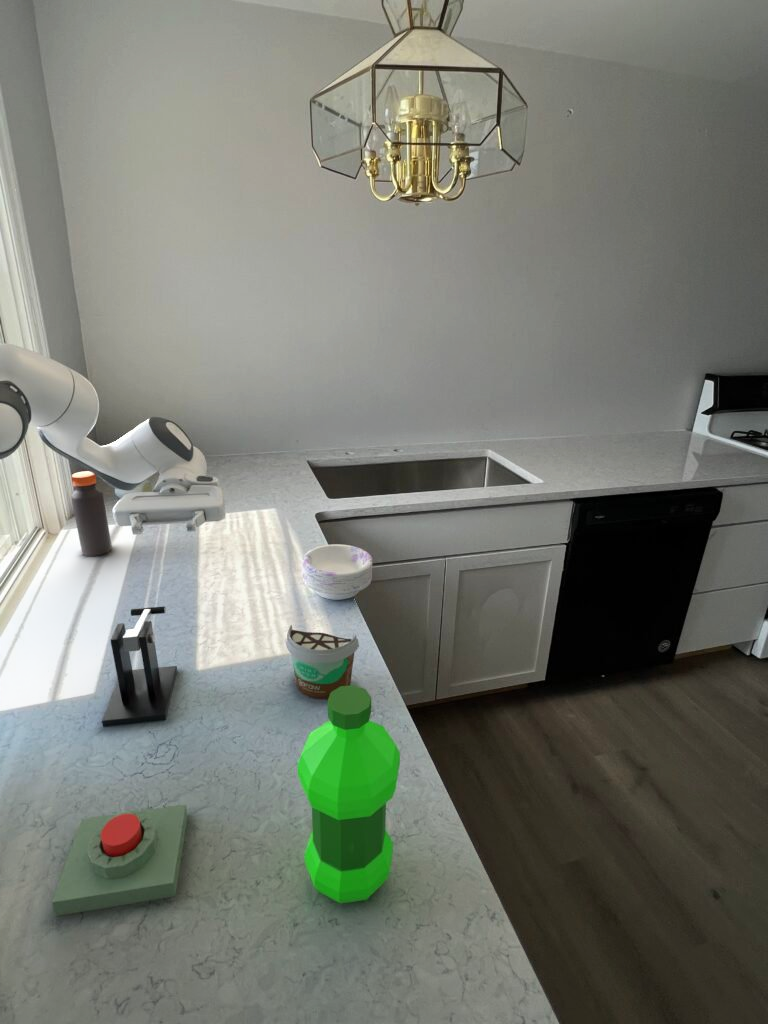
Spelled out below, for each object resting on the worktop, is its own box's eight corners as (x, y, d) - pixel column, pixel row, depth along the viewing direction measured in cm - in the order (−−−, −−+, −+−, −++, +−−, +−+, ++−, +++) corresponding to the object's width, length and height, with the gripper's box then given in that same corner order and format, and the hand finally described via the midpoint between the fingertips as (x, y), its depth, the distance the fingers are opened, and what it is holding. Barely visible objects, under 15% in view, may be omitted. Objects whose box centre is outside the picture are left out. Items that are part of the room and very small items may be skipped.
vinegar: (75, 554, 136) (60, 476, 129) (96, 543, 142) (82, 468, 135) (98, 558, 135) (83, 480, 127) (118, 547, 141) (105, 471, 133)
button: (98, 859, 61) (96, 848, 60) (108, 827, 64) (106, 816, 64) (137, 853, 61) (135, 842, 61) (145, 822, 65) (143, 811, 64)
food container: (275, 696, 91) (272, 645, 87) (290, 673, 96) (288, 624, 93) (348, 710, 88) (348, 658, 84) (358, 685, 94) (359, 635, 90)
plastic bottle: (292, 915, 59) (282, 731, 50) (318, 828, 69) (314, 660, 60) (385, 932, 58) (392, 747, 48) (399, 841, 67) (407, 671, 58)
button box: (55, 916, 58) (48, 890, 57) (84, 831, 68) (78, 807, 66) (175, 896, 61) (171, 871, 59) (187, 817, 70) (184, 793, 68)
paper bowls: (385, 586, 125) (386, 554, 123) (343, 615, 114) (343, 581, 111) (332, 567, 133) (332, 537, 130) (288, 593, 122) (287, 560, 119)
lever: (133, 617, 97) (131, 604, 96) (166, 614, 98) (165, 602, 97) (112, 653, 84) (110, 638, 84) (150, 649, 85) (149, 635, 85)
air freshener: (130, 491, 179) (125, 461, 175) (155, 492, 178) (151, 462, 175) (113, 503, 168) (108, 472, 165) (140, 504, 168) (135, 473, 164)
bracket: (122, 676, 94) (110, 611, 90) (177, 671, 96) (168, 607, 91) (102, 727, 84) (88, 656, 79) (165, 720, 85) (155, 650, 80)
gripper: (119, 481, 109) (98, 517, 98) (226, 477, 112) (218, 512, 100) (126, 509, 113) (107, 547, 101) (230, 504, 115) (222, 541, 103)
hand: (163, 529), depth 101 cm, fingers open, 8 cm apart
